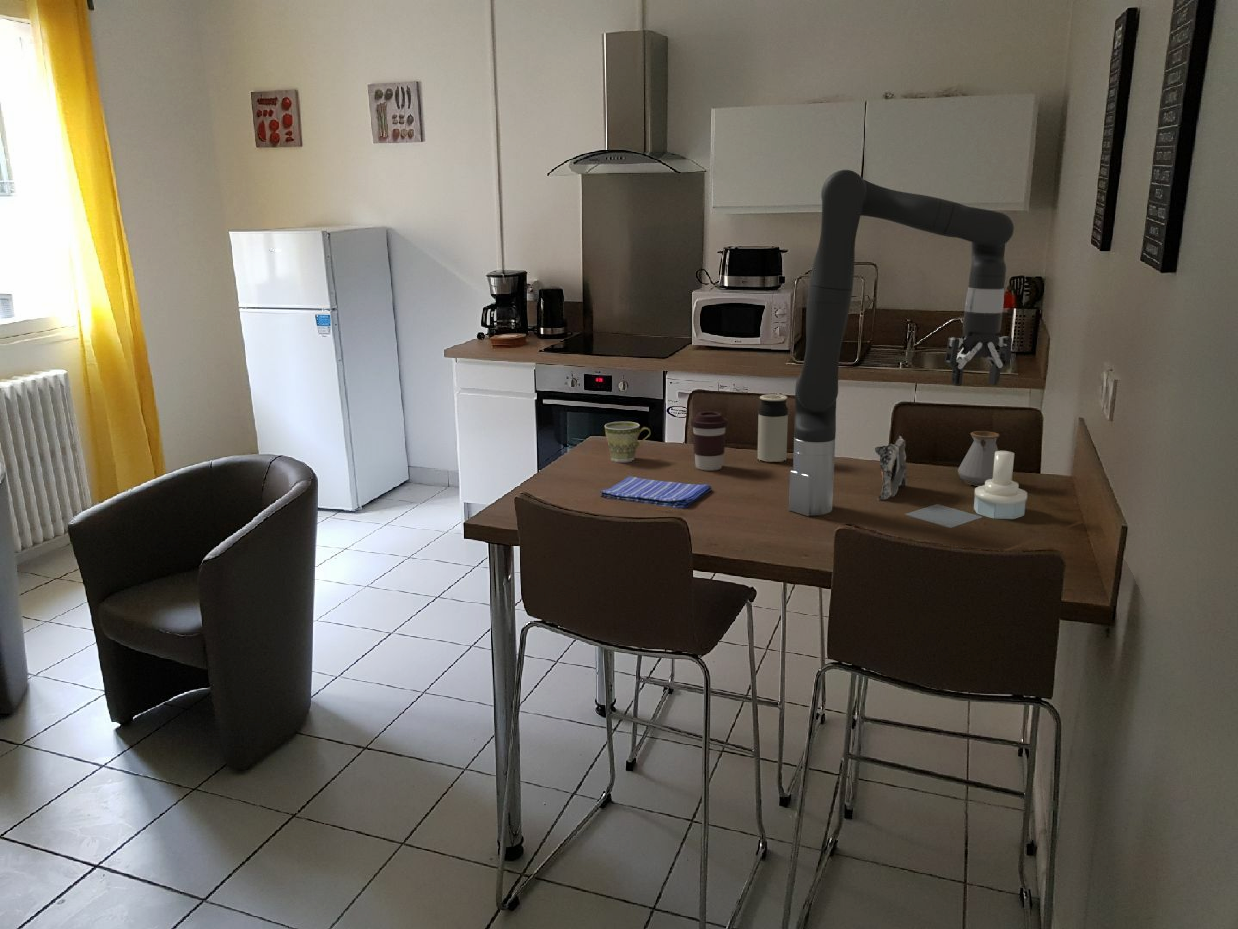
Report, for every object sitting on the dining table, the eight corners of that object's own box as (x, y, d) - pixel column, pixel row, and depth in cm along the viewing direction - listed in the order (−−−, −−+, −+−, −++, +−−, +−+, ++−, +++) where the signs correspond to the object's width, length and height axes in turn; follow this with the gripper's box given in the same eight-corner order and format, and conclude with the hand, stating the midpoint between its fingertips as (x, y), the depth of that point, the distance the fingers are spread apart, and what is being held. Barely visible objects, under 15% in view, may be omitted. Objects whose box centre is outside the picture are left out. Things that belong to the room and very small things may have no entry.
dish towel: (687, 511, 215) (687, 500, 214) (598, 499, 226) (597, 488, 225) (713, 492, 230) (713, 481, 229) (629, 481, 240) (628, 471, 240)
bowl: (1005, 523, 201) (1007, 505, 200) (965, 512, 209) (967, 495, 208) (1031, 514, 207) (1033, 497, 206) (991, 503, 215) (992, 487, 214)
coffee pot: (958, 475, 239) (963, 419, 235) (1006, 479, 234) (1012, 422, 230) (951, 497, 220) (956, 437, 216) (1002, 503, 215) (1008, 441, 211)
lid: (1009, 507, 200) (1013, 462, 197) (964, 495, 208) (968, 452, 205) (1036, 497, 206) (1041, 453, 203) (992, 486, 214) (996, 444, 212)
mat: (950, 529, 198) (950, 527, 198) (904, 515, 208) (904, 514, 207) (982, 518, 205) (983, 516, 205) (936, 505, 214) (937, 504, 214)
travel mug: (764, 464, 252) (765, 400, 247) (753, 457, 259) (754, 395, 255) (791, 462, 254) (793, 398, 249) (779, 455, 261) (781, 393, 257)
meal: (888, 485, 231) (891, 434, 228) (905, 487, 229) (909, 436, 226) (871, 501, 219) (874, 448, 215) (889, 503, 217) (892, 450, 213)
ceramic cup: (604, 464, 255) (603, 429, 253) (606, 455, 265) (605, 421, 262) (650, 464, 255) (650, 429, 252) (650, 455, 264) (650, 421, 262)
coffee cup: (690, 463, 255) (690, 410, 251) (725, 462, 255) (726, 409, 251) (691, 472, 245) (691, 417, 241) (728, 472, 245) (729, 417, 241)
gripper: (963, 311, 189) (954, 389, 193) (1024, 311, 192) (1014, 387, 196) (943, 308, 196) (935, 383, 200) (1002, 307, 199) (994, 381, 203)
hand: (975, 385), depth 198 cm, fingers open, 8 cm apart
